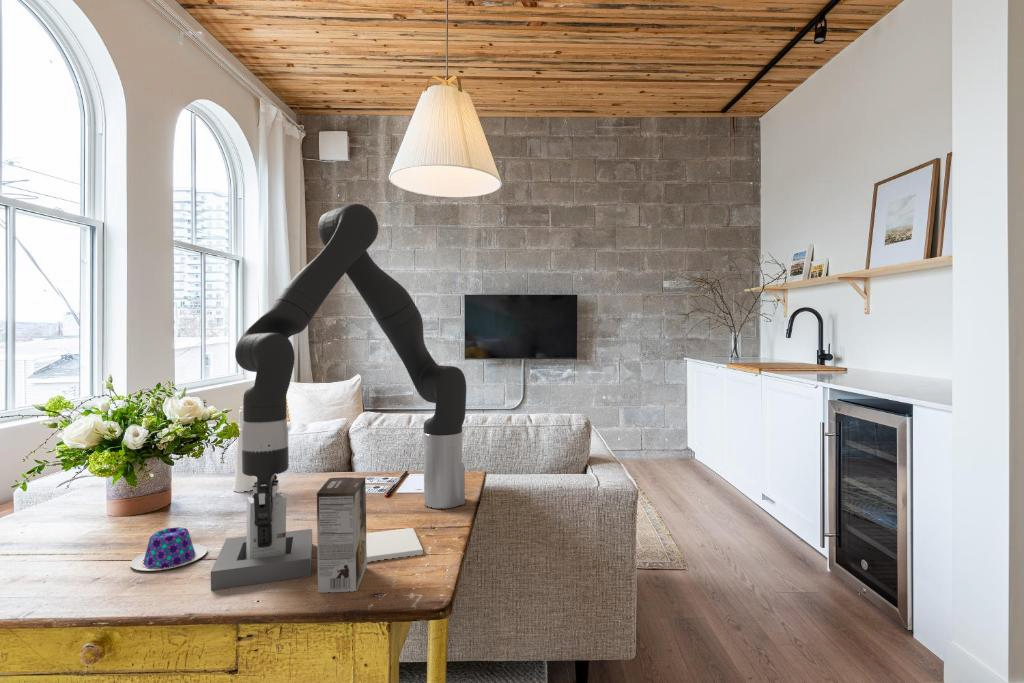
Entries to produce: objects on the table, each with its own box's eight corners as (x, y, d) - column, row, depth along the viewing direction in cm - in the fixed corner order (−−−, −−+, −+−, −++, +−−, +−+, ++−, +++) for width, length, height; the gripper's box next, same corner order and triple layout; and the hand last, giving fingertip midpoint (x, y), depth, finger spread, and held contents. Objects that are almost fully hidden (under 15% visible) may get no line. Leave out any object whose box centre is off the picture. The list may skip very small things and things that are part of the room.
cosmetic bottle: (262, 488, 146) (261, 405, 145) (241, 493, 141) (240, 408, 140) (249, 484, 149) (248, 404, 149) (228, 490, 144) (226, 407, 144)
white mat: (412, 532, 112) (412, 527, 112) (422, 554, 101) (422, 549, 101) (352, 540, 109) (352, 535, 109) (355, 563, 97) (355, 558, 97)
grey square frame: (312, 544, 107) (312, 528, 107) (310, 576, 92) (310, 558, 92) (226, 554, 102) (226, 538, 102) (210, 590, 88) (210, 571, 87)
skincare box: (249, 573, 93) (248, 503, 93) (245, 564, 97) (245, 496, 97) (287, 565, 97) (287, 497, 97) (282, 556, 101) (281, 491, 100)
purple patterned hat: (168, 545, 107) (168, 519, 107) (222, 550, 105) (221, 522, 105) (112, 571, 95) (112, 542, 95) (171, 577, 93) (171, 546, 93)
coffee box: (330, 569, 95) (329, 477, 95) (367, 567, 96) (367, 476, 95) (315, 594, 86) (314, 492, 86) (357, 592, 87) (356, 491, 86)
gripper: (285, 451, 91) (286, 553, 91) (290, 436, 105) (291, 525, 105) (235, 455, 89) (236, 559, 89) (247, 439, 102) (248, 529, 102)
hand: (266, 540), depth 97 cm, fingers closed on skincare box, 5 cm apart
